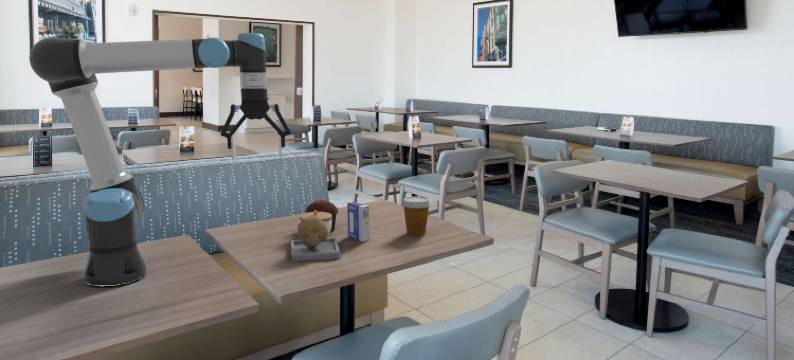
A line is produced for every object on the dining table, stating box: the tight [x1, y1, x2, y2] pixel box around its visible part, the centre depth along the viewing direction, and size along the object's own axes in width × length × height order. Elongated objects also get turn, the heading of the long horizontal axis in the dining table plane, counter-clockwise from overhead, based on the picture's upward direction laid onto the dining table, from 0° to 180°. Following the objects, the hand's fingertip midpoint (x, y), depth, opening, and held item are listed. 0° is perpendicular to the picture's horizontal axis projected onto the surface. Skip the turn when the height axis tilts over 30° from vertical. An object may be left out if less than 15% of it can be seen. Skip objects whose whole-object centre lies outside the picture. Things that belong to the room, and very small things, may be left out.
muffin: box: [304, 199, 339, 233], centre depth 203 cm, size 12×11×10 cm
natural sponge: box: [297, 216, 329, 249], centre depth 179 cm, size 9×9×10 cm
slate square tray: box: [290, 237, 341, 262], centre depth 180 cm, size 14×14×2 cm
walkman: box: [346, 201, 370, 243], centre depth 193 cm, size 8×3×12 cm, turn 43°
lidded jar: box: [298, 210, 332, 235], centre depth 194 cm, size 11×11×9 cm
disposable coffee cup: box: [401, 195, 431, 237], centre depth 199 cm, size 10×10×12 cm
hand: (257, 159), depth 176 cm, fingers open, 13 cm apart
